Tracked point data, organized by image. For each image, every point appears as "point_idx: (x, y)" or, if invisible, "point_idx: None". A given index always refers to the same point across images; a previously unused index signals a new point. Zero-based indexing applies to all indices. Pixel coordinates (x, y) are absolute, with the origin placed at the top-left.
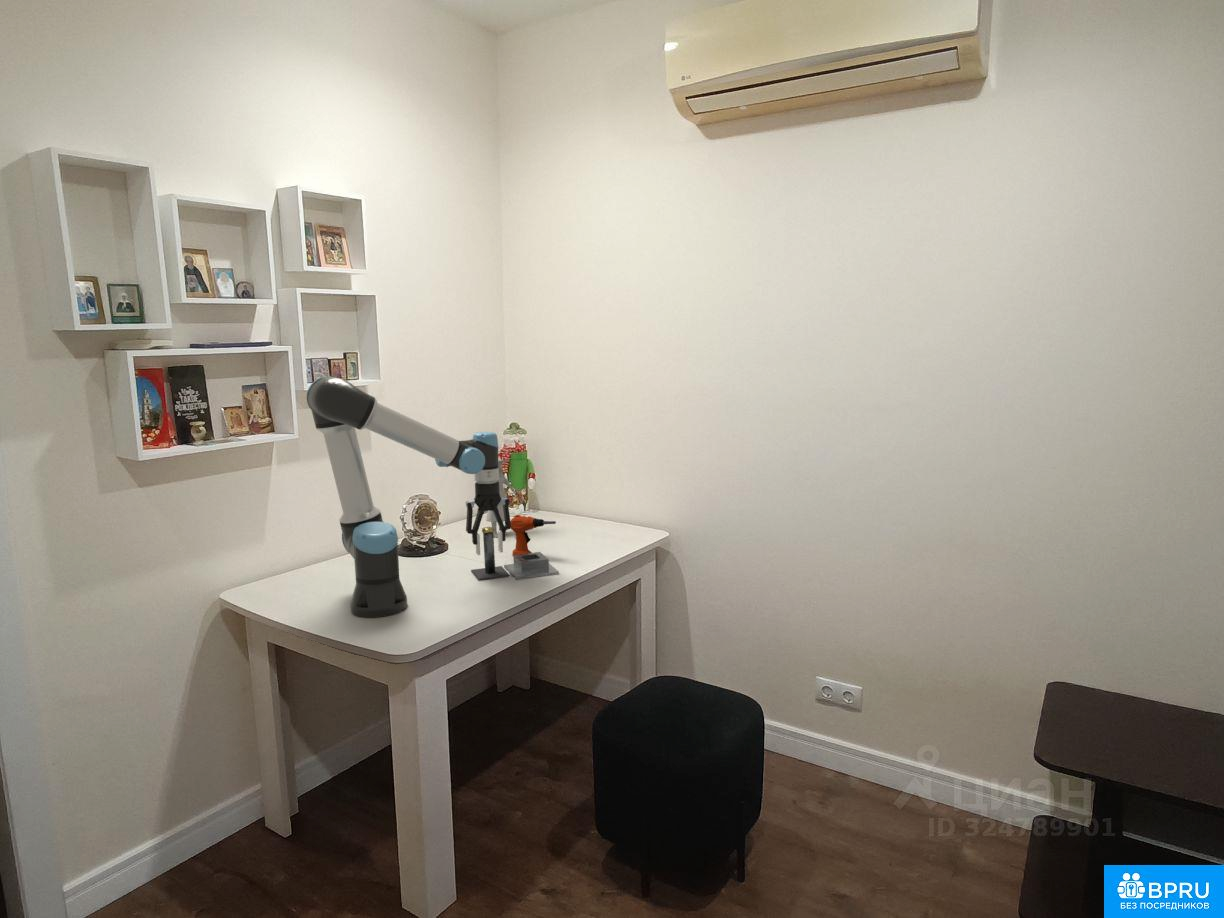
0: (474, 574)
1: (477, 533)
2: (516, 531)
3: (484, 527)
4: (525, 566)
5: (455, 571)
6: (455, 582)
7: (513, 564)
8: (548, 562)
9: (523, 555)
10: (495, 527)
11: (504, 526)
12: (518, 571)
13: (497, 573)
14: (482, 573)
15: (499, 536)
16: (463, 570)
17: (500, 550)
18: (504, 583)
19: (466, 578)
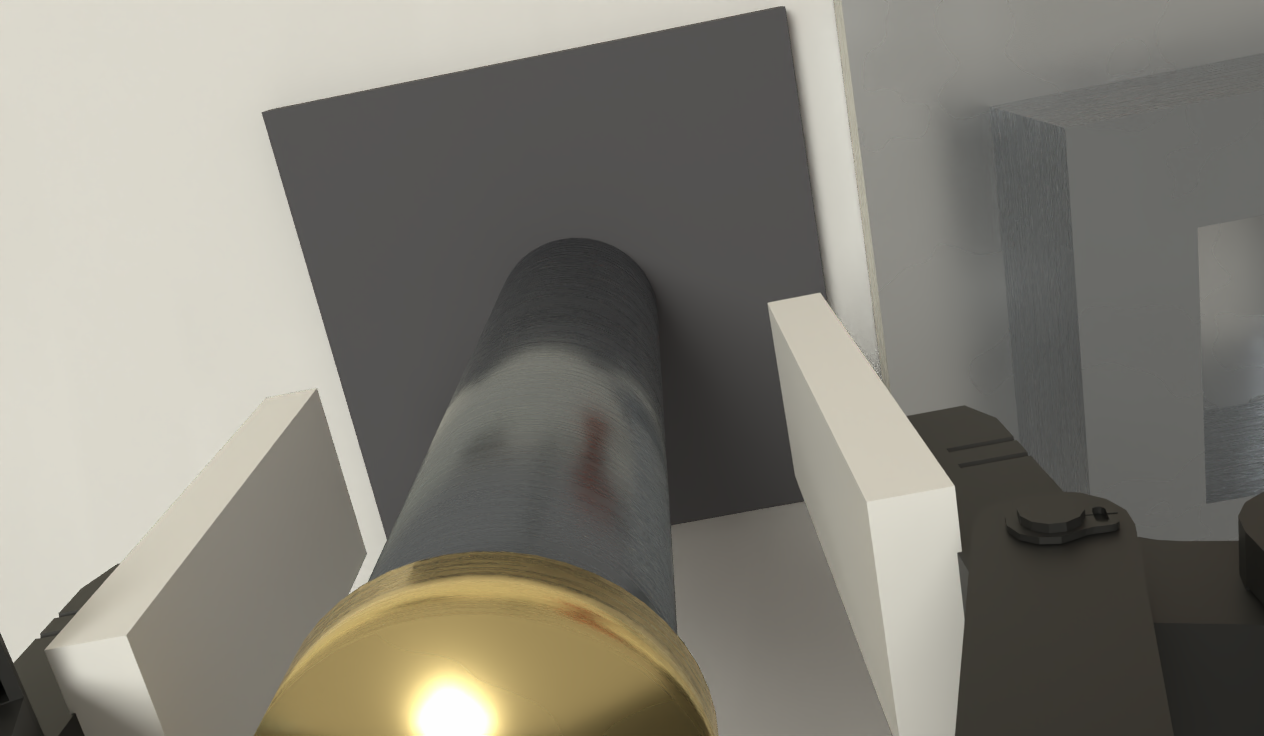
0: (332, 345)
1: (130, 706)
2: None
3: (336, 674)
4: None
5: (3, 29)
6: (86, 559)
7: (1003, 10)
8: None
9: (1250, 206)
10: None
11: (1178, 720)
12: (1006, 407)
13: (683, 402)
14: (455, 352)
15: (859, 614)
16: (135, 4)
17: (801, 492)
18: (741, 726)
19: (225, 426)
